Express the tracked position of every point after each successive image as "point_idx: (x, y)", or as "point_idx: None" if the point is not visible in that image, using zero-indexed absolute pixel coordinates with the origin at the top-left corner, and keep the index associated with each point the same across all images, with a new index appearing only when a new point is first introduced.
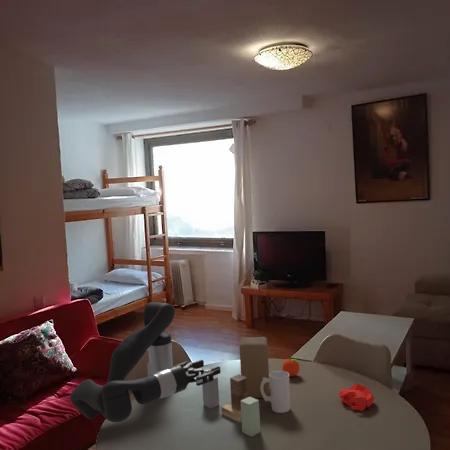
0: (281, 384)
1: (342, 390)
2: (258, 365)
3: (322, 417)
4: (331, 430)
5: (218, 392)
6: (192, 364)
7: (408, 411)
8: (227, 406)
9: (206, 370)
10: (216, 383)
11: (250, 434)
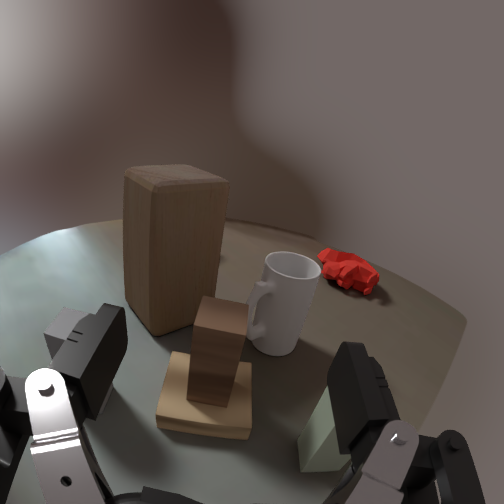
0: (313, 291)
1: (331, 265)
2: (202, 244)
3: (357, 329)
4: (403, 351)
5: None
6: (70, 402)
7: (397, 276)
8: (172, 404)
9: (392, 458)
10: None
11: (338, 468)
